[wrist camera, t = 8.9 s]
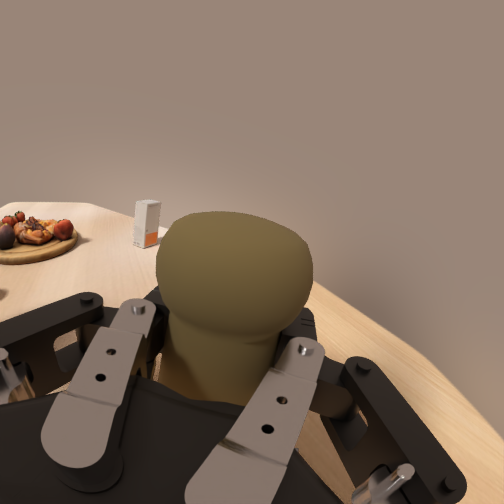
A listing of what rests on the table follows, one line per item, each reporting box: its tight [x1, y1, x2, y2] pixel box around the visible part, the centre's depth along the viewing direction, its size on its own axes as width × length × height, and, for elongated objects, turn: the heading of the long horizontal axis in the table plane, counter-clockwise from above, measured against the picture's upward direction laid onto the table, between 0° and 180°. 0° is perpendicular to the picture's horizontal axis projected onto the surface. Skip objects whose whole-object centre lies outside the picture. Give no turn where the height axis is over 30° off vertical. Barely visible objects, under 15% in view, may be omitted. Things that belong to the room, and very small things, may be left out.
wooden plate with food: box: [0, 211, 78, 265], centre depth 54 cm, size 32×32×8 cm
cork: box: [156, 211, 313, 406], centre depth 10 cm, size 6×6×11 cm
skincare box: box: [133, 199, 161, 248], centre depth 70 cm, size 6×4×12 cm
